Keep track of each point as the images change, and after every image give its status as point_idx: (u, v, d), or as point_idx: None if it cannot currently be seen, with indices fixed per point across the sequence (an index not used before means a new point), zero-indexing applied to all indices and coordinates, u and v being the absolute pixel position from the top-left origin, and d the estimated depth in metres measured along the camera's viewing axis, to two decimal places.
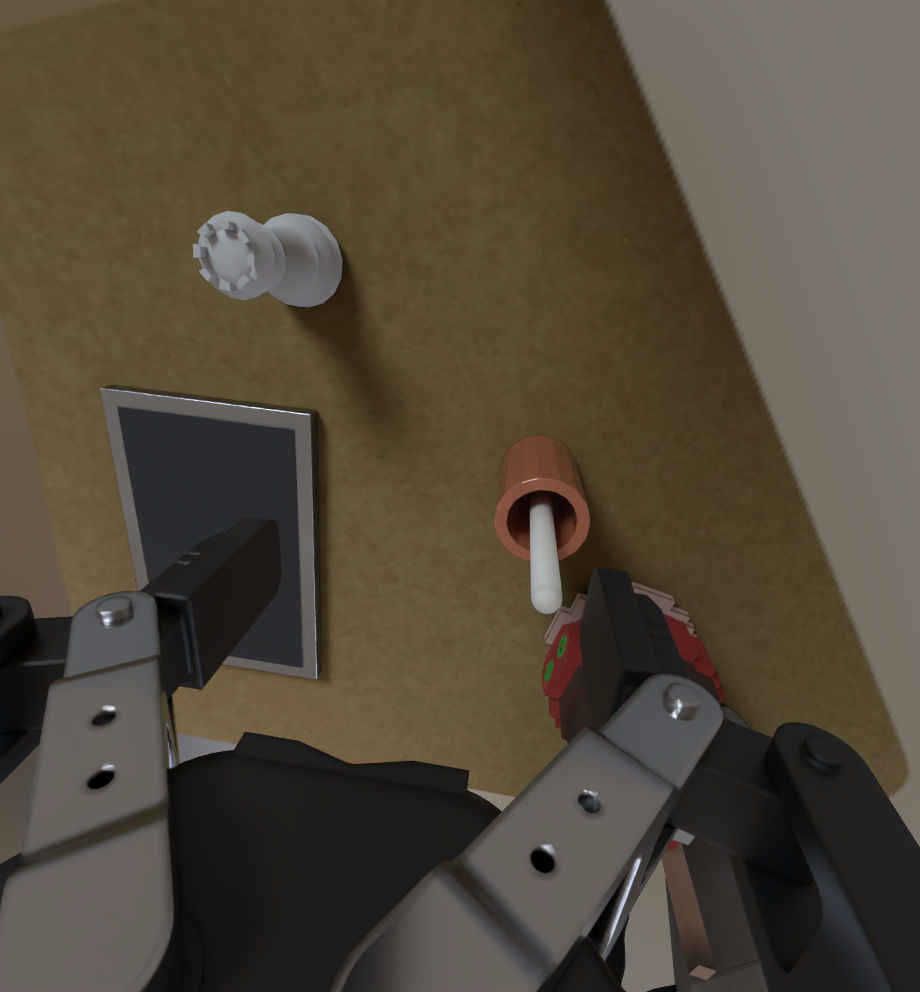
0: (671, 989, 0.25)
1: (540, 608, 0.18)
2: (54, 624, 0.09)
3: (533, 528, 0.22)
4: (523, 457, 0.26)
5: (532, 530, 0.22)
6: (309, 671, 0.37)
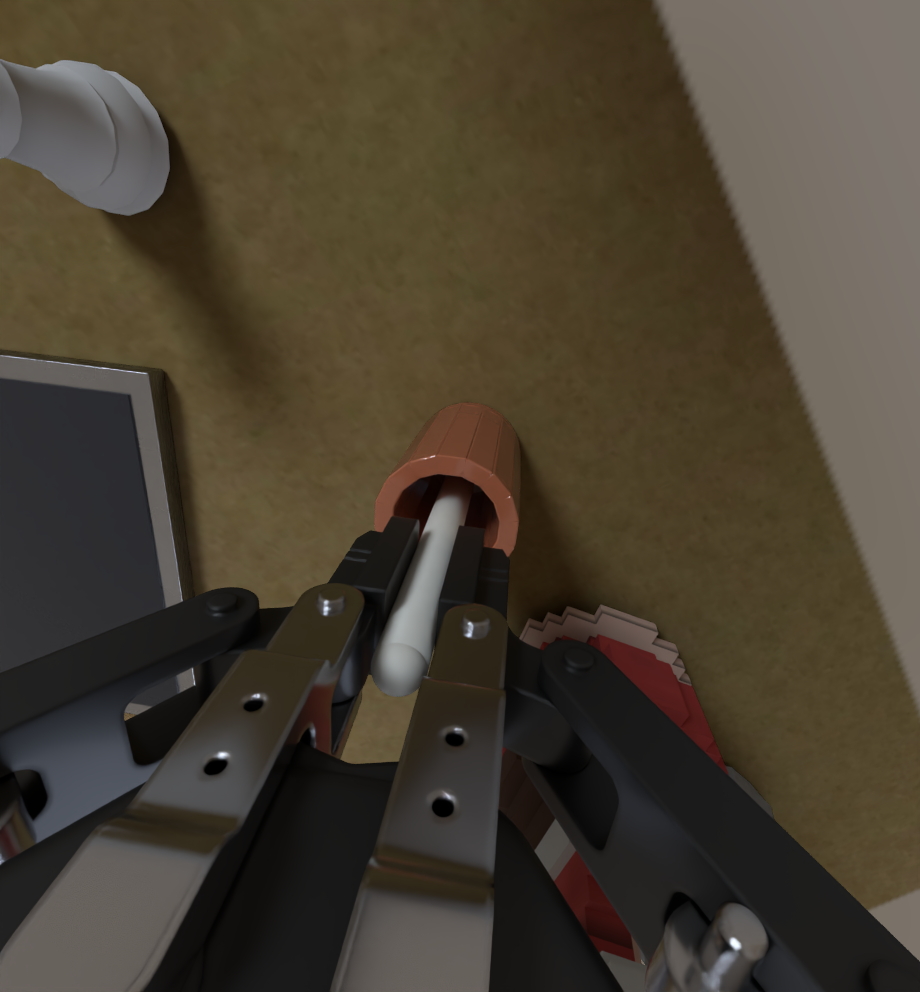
0: None
1: (382, 688, 0.09)
2: (269, 615, 0.10)
3: (422, 534, 0.14)
4: (431, 429, 0.18)
5: (421, 537, 0.14)
6: None
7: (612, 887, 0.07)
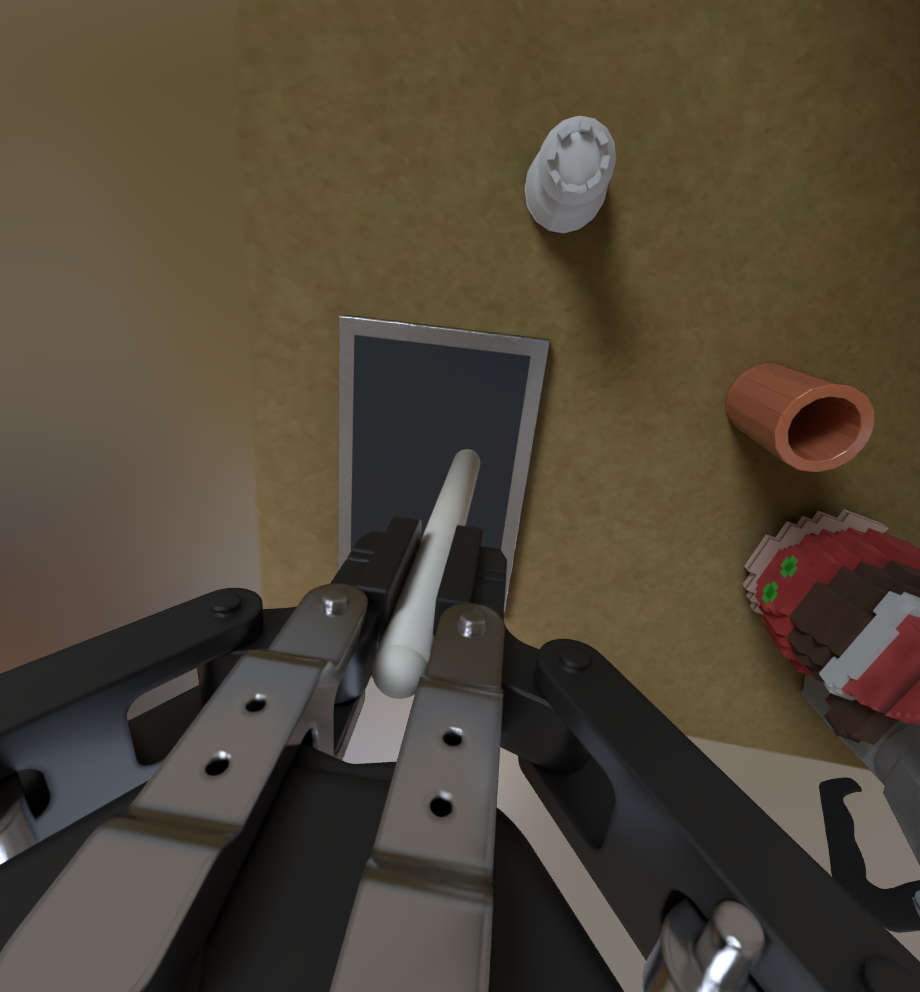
0: None
1: (383, 690, 0.09)
2: (272, 615, 0.10)
3: (423, 536, 0.14)
4: (781, 375, 0.27)
5: (422, 539, 0.14)
6: None
7: (609, 886, 0.07)
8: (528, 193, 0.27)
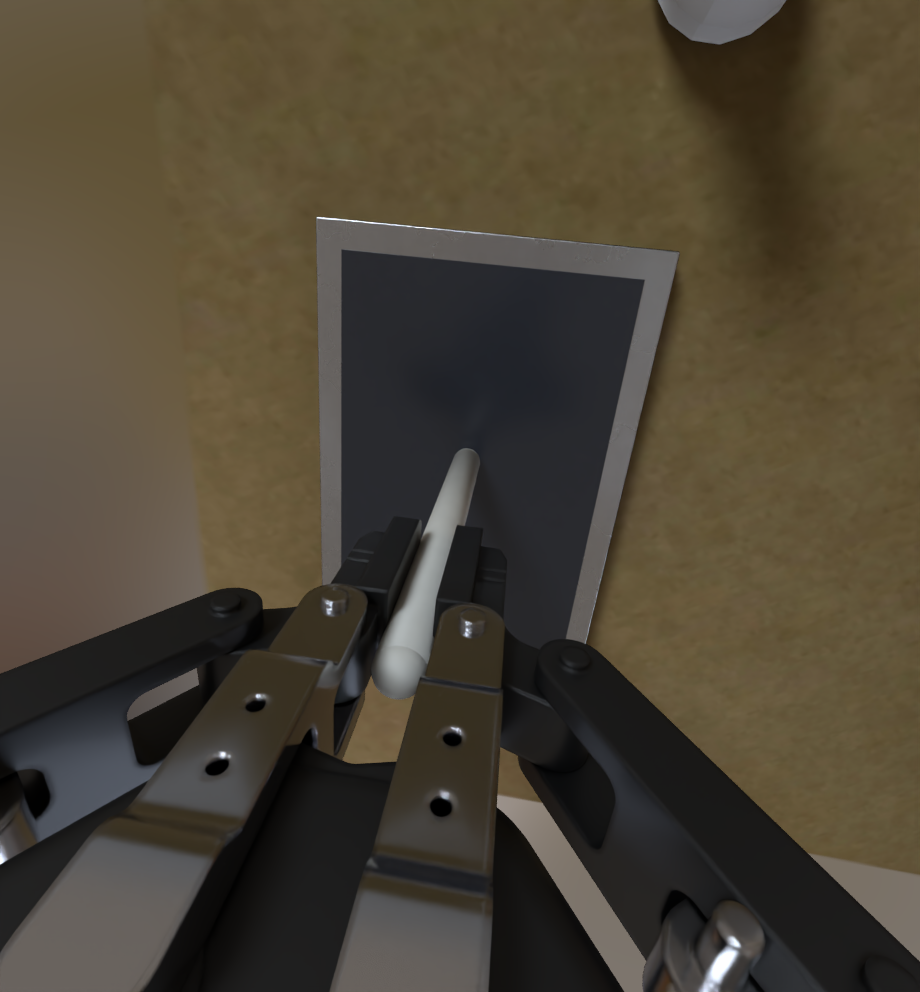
0: None
1: (382, 691, 0.09)
2: (272, 615, 0.10)
3: (423, 535, 0.14)
4: None
5: (421, 539, 0.14)
6: None
7: (610, 886, 0.07)
8: None
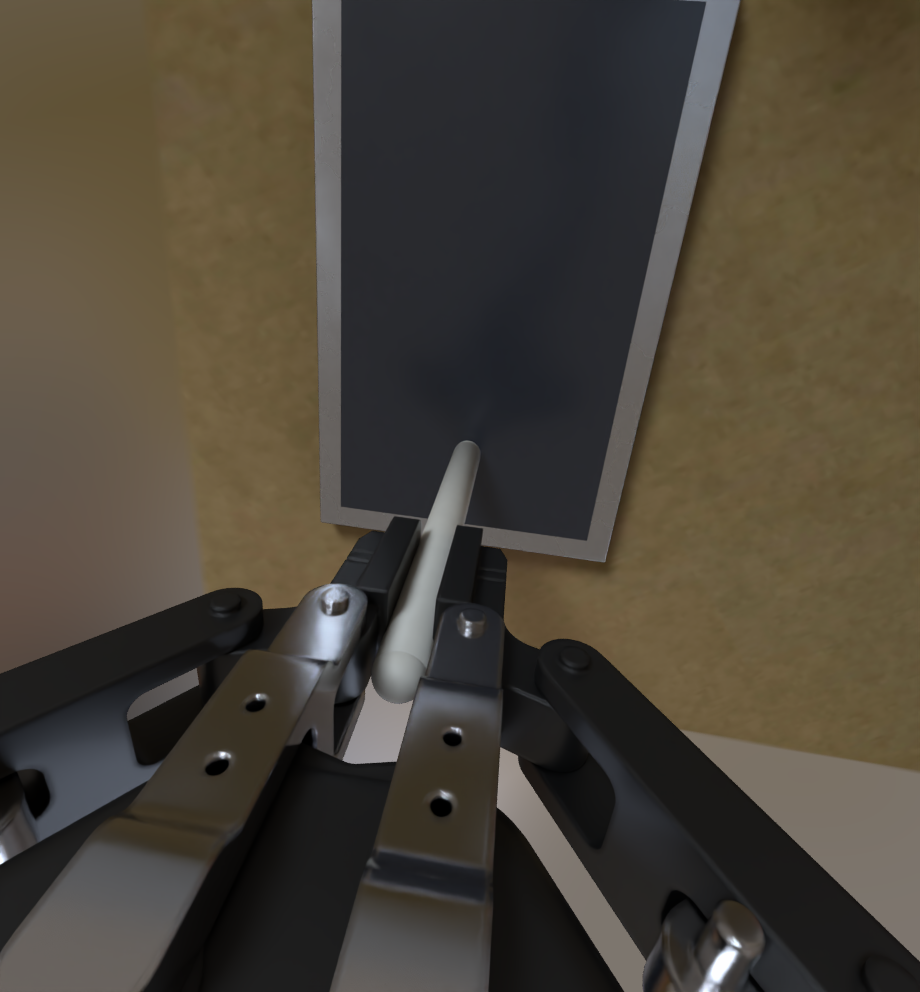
0: None
1: (382, 696, 0.10)
2: (272, 615, 0.10)
3: (423, 534, 0.14)
4: None
5: (421, 537, 0.14)
6: (595, 547, 0.22)
7: (609, 886, 0.07)
8: None
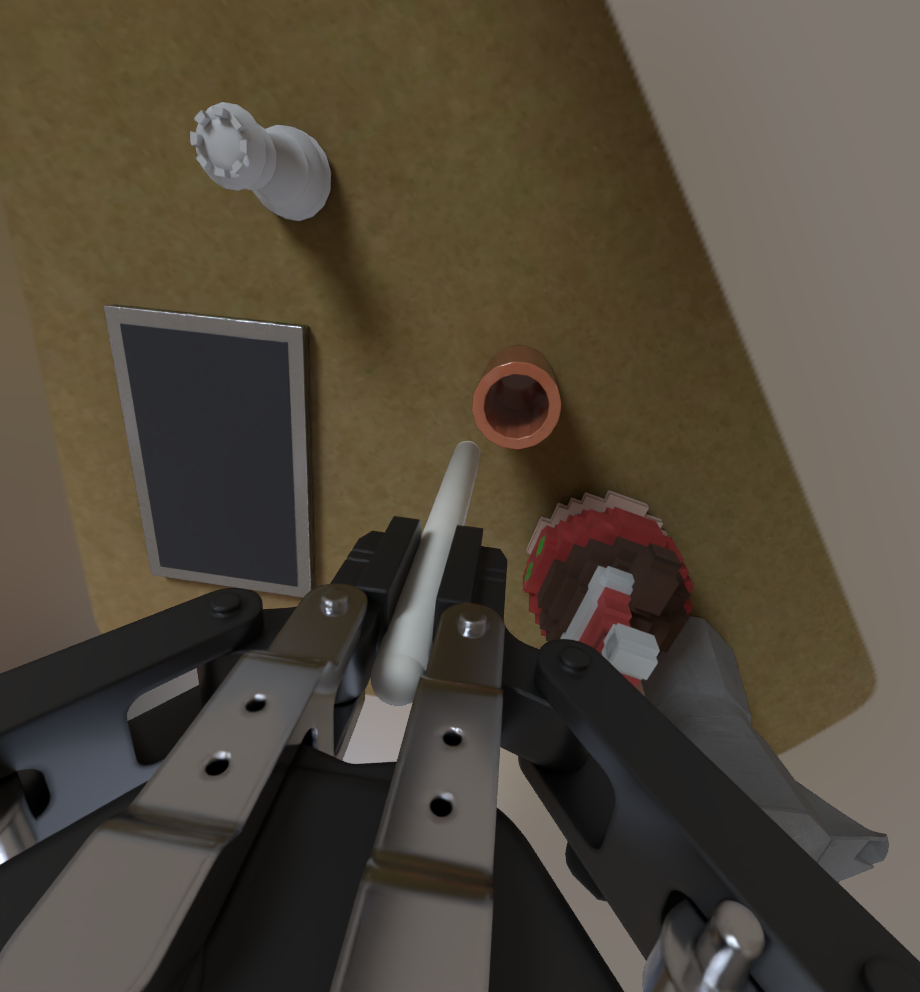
0: None
1: (381, 698, 0.10)
2: (272, 615, 0.10)
3: (423, 535, 0.14)
4: (501, 356, 0.28)
5: (421, 538, 0.14)
6: (303, 590, 0.39)
7: (610, 886, 0.07)
8: None
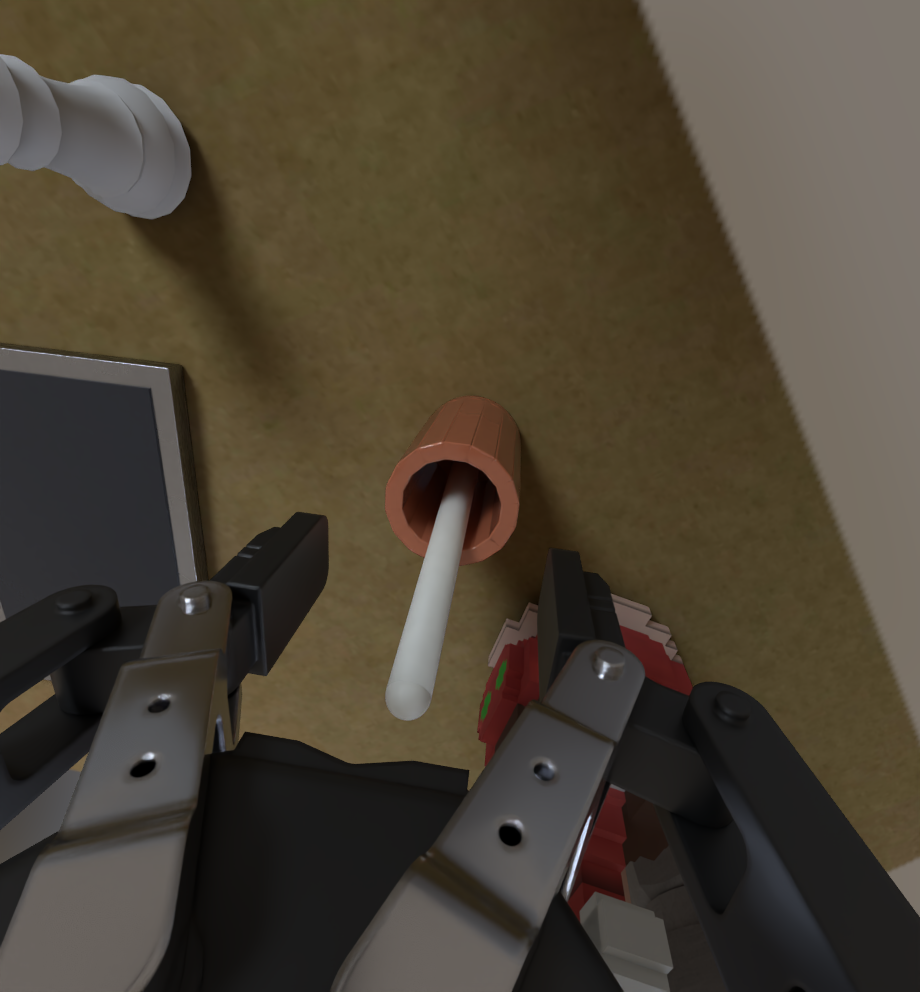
0: None
1: (394, 715, 0.12)
2: (135, 612, 0.09)
3: (428, 550, 0.16)
4: (437, 419, 0.19)
5: (426, 553, 0.16)
6: None
7: (725, 959, 0.07)
8: None
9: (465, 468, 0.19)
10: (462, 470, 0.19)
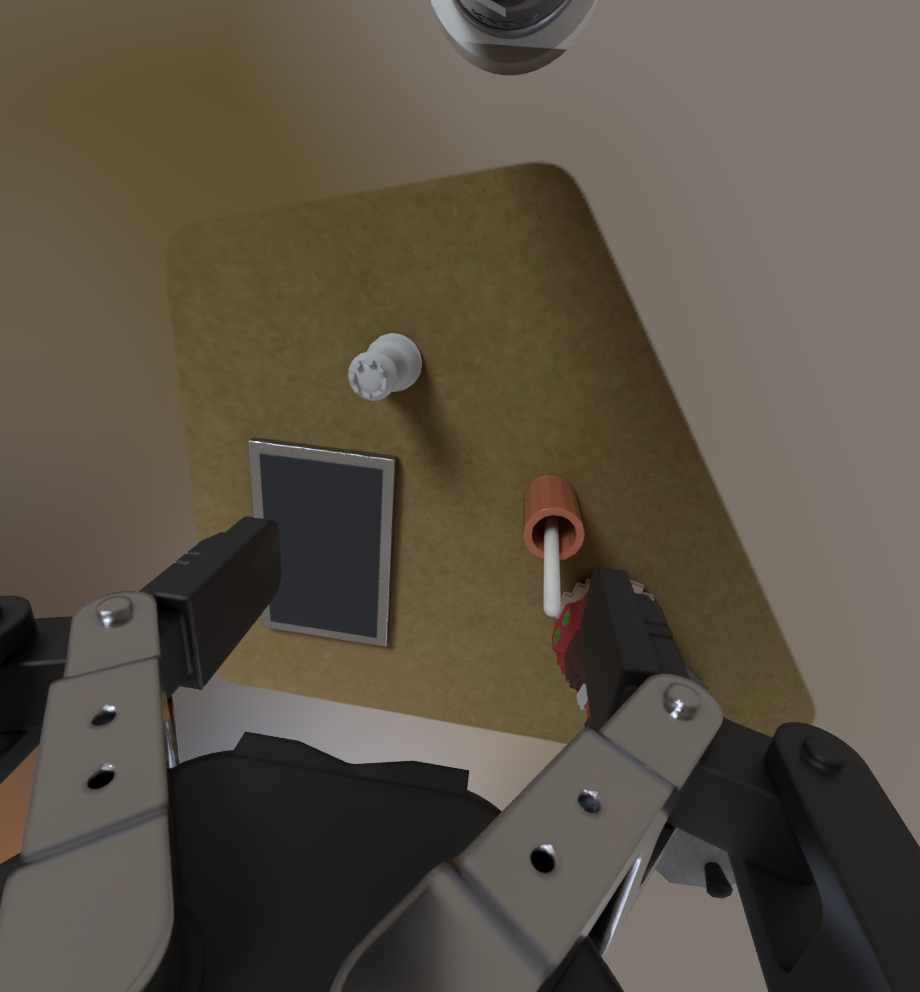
0: None
1: (548, 614, 0.33)
2: (54, 624, 0.09)
3: (546, 554, 0.37)
4: (541, 491, 0.40)
5: (545, 555, 0.37)
6: (381, 640, 0.51)
7: None
8: None
9: None
10: (552, 515, 0.40)
